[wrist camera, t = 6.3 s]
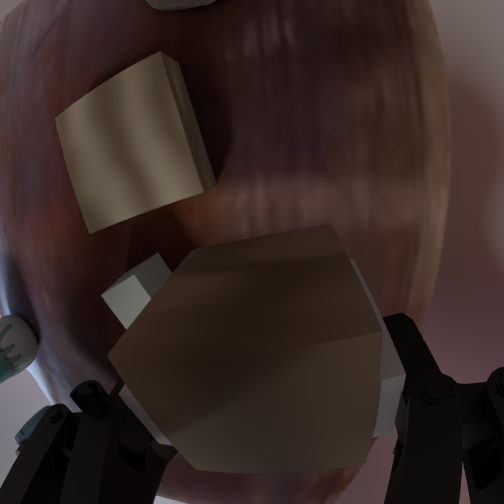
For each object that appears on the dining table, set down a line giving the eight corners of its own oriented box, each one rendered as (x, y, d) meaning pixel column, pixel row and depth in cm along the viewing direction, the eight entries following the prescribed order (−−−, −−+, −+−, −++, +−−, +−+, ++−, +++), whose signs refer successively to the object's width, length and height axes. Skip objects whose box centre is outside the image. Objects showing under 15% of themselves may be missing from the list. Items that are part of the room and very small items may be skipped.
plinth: (113, 220, 31) (89, 233, 26) (82, 118, 26) (55, 118, 22) (217, 183, 28) (203, 192, 23) (179, 63, 23) (160, 51, 19)
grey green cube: (152, 309, 34) (132, 336, 29) (126, 272, 33) (100, 295, 27) (186, 293, 33) (168, 321, 27) (158, 252, 31) (134, 274, 26)
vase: (14, 333, 45) (-29, 376, 28) (7, 298, 40) (-45, 342, 24) (46, 360, 45) (4, 411, 29) (41, 327, 41) (-12, 382, 24)
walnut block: (228, 353, 14) (195, 469, 8) (192, 249, 12) (106, 355, 6) (343, 338, 13) (365, 463, 6) (331, 223, 11) (382, 331, 4)
